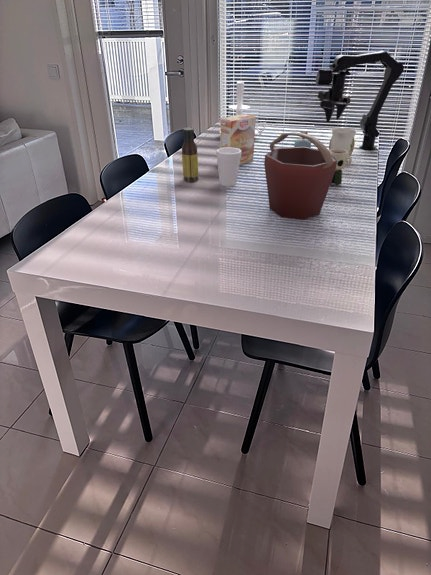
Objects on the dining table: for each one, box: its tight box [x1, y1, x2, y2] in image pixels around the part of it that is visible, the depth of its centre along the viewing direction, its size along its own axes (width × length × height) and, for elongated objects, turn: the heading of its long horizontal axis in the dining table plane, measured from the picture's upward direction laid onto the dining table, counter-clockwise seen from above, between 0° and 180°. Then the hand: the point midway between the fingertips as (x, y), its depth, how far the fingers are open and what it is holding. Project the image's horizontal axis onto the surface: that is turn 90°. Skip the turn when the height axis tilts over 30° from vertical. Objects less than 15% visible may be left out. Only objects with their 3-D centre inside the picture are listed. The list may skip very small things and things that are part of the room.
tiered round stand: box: [293, 138, 312, 148], centre depth 209 cm, size 13×13×6 cm
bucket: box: [263, 132, 337, 221], centre depth 142 cm, size 24×22×25 cm
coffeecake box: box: [219, 113, 257, 166], centre depth 189 cm, size 15×7×20 cm, turn 131°
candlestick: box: [218, 80, 267, 137], centre depth 224 cm, size 21×25×28 cm
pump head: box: [299, 130, 309, 139], centre depth 206 cm, size 3×3×3 cm
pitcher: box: [328, 127, 357, 162], centre depth 196 cm, size 11×18×14 cm, turn 160°
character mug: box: [328, 149, 353, 186], centre depth 168 cm, size 11×7×13 cm, turn 73°
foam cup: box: [216, 147, 241, 188], centre depth 167 cm, size 10×9×13 cm
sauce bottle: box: [181, 127, 199, 183], centre depth 169 cm, size 6×6×20 cm
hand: (332, 120), depth 209 cm, fingers open, 9 cm apart
